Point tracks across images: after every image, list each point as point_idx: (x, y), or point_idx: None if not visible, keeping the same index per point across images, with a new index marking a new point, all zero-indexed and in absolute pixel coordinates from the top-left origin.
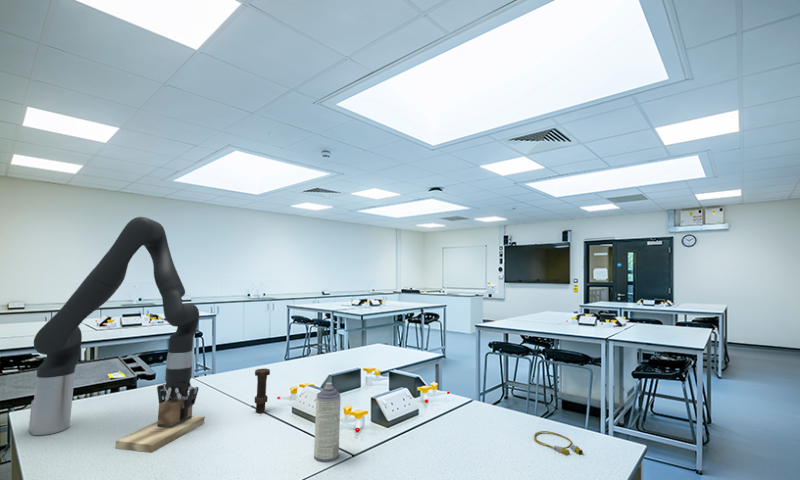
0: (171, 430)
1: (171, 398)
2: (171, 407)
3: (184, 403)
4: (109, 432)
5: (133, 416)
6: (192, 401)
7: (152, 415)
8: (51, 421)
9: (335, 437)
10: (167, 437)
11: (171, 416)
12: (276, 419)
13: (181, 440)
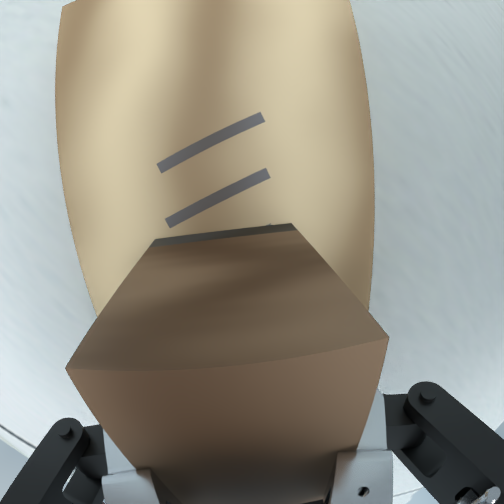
0: (116, 209)
1: (329, 485)
2: (100, 343)
3: (109, 454)
4: (496, 159)
5: (497, 319)
6: (87, 477)
7: (450, 360)
8: None
9: None
10: (58, 118)
11: (130, 279)
12: (12, 431)
13: (48, 194)
